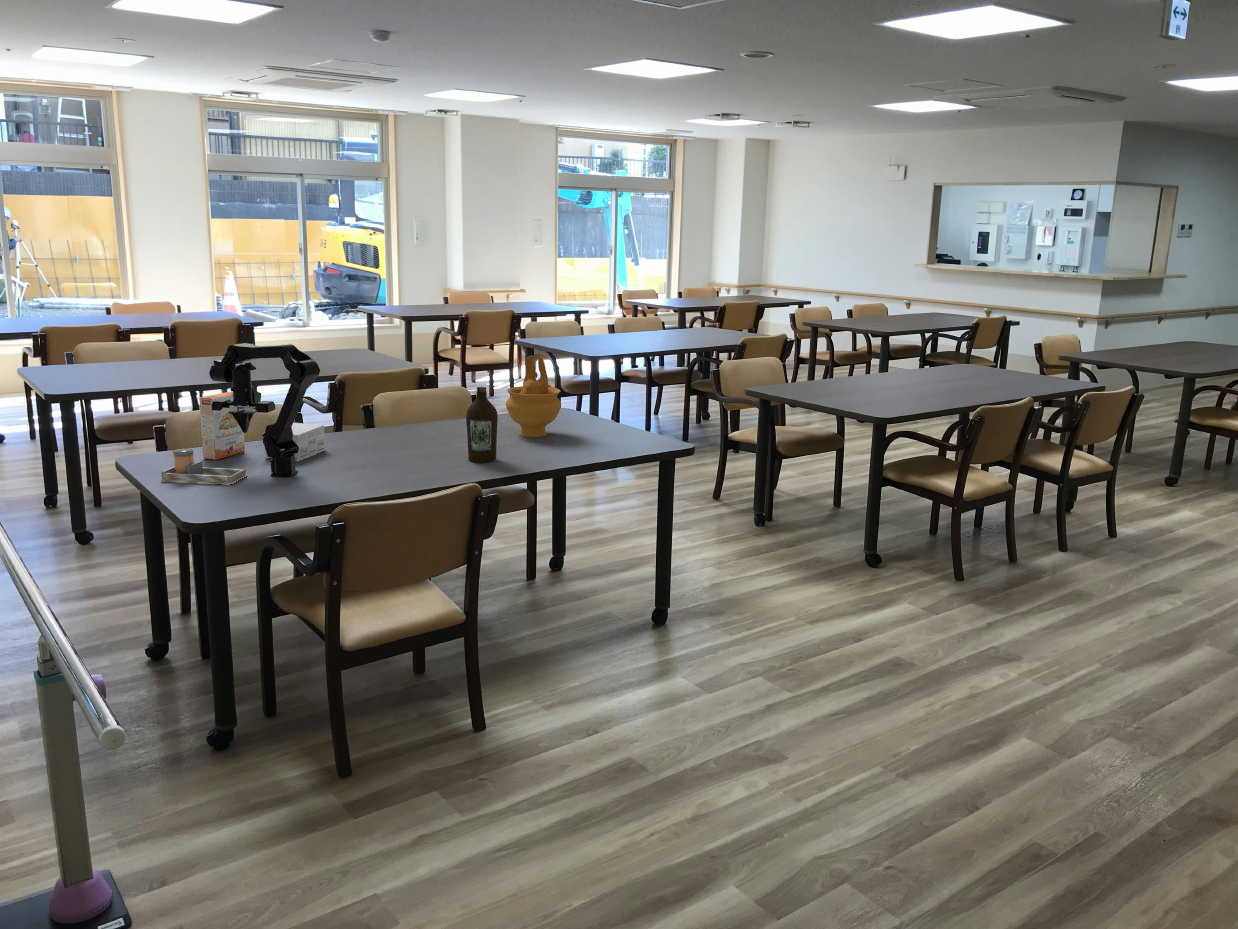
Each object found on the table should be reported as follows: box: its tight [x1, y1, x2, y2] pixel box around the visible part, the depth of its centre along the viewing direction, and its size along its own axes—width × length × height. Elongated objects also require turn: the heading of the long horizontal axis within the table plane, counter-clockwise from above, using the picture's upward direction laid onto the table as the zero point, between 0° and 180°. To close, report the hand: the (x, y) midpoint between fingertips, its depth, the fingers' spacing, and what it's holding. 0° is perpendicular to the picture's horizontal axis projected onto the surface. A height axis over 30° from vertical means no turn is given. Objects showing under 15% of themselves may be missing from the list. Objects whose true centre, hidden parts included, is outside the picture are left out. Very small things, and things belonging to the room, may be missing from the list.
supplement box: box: [263, 422, 326, 462], centre depth 335 cm, size 17×13×9 cm
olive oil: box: [465, 386, 499, 464], centre depth 331 cm, size 11×11×25 cm
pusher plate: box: [187, 460, 203, 475], centre depth 301 cm, size 1×7×4 cm, turn 174°
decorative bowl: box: [505, 355, 562, 438], centre depth 373 cm, size 21×21×30 cm
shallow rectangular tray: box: [160, 465, 248, 486], centre depth 301 cm, size 22×11×3 cm, turn 84°
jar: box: [172, 448, 195, 474], centre depth 301 cm, size 6×6×8 cm
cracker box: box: [198, 391, 246, 461], centre depth 329 cm, size 14×6×21 cm, turn 160°
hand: (245, 432), depth 312 cm, fingers closed
